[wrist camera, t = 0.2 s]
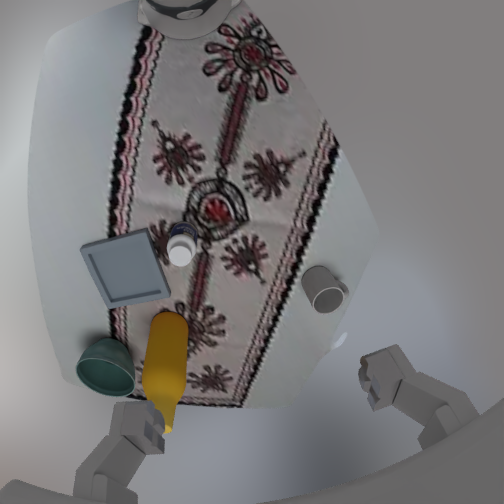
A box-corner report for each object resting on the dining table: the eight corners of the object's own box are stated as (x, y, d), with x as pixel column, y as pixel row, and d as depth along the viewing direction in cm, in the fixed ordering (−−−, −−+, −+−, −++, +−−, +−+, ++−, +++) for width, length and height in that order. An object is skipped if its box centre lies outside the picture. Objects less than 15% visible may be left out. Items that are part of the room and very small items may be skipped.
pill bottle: (198, 222, 57) (197, 243, 48) (196, 246, 59) (194, 271, 51) (171, 219, 56) (165, 241, 47) (170, 244, 58) (164, 268, 50)
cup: (304, 265, 65) (316, 287, 57) (343, 265, 67) (359, 286, 59) (298, 291, 68) (309, 315, 60) (336, 290, 70) (350, 313, 62)
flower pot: (151, 349, 71) (146, 381, 62) (124, 375, 75) (118, 404, 66) (100, 318, 65) (88, 348, 55) (78, 348, 69) (68, 376, 59)
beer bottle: (153, 337, 69) (140, 436, 44) (149, 309, 65) (130, 414, 40) (188, 338, 71) (187, 440, 45) (188, 310, 67) (184, 418, 41)
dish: (82, 245, 55) (79, 249, 54) (147, 228, 56) (145, 232, 54) (110, 303, 63) (108, 308, 61) (170, 291, 64) (170, 297, 62)
